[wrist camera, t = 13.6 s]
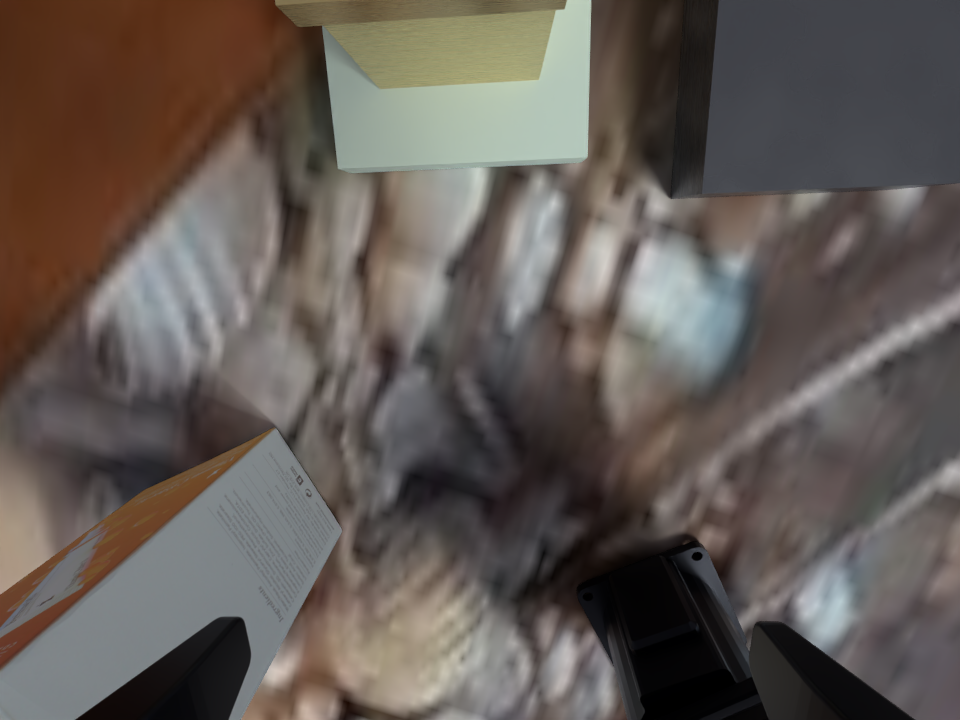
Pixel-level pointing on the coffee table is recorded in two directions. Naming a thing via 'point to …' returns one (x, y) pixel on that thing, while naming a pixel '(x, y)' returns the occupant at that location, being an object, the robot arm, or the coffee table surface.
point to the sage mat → (467, 112)
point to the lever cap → (435, 37)
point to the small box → (167, 581)
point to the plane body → (817, 97)
